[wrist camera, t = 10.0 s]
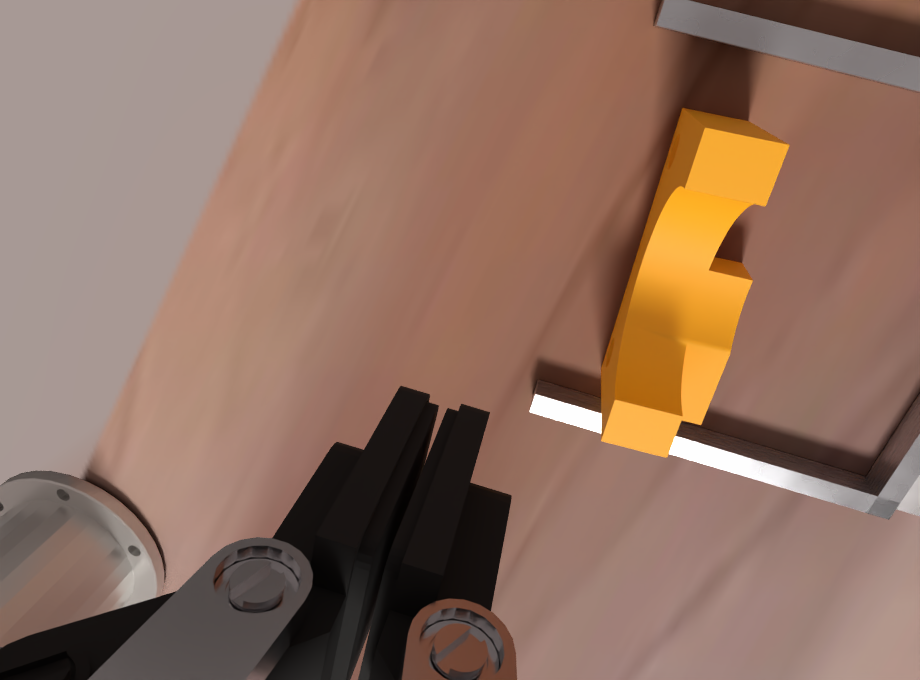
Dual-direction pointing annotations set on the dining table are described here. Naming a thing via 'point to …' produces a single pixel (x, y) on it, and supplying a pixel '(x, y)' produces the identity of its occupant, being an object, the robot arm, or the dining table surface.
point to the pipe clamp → (685, 282)
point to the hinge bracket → (879, 493)
